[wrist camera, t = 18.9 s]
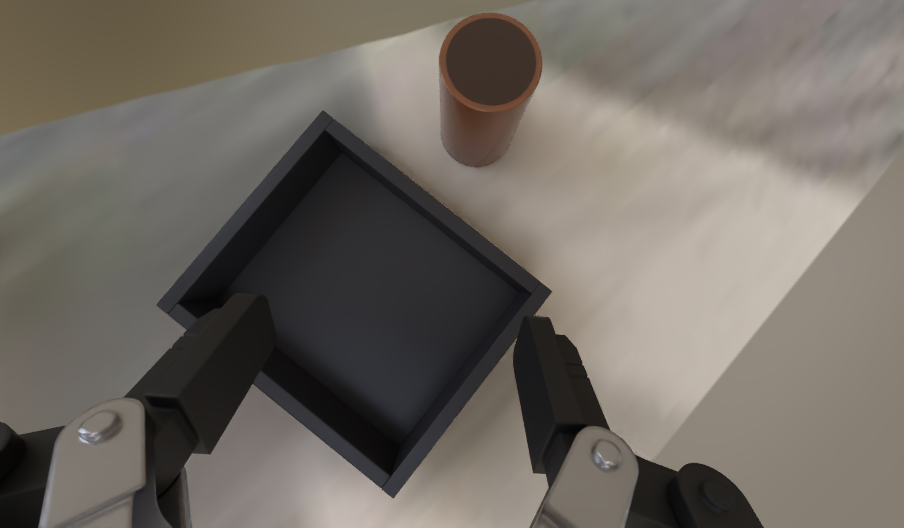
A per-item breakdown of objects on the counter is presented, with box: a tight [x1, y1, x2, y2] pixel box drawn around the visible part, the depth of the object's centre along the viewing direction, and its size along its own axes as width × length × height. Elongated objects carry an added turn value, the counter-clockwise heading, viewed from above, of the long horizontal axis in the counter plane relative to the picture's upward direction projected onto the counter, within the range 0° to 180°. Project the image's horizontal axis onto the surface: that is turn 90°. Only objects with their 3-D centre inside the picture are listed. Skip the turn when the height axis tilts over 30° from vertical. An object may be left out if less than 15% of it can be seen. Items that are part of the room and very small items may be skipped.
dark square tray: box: [157, 111, 552, 498], centre depth 25 cm, size 20×17×5 cm
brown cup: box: [439, 13, 542, 167], centre depth 24 cm, size 6×6×9 cm
